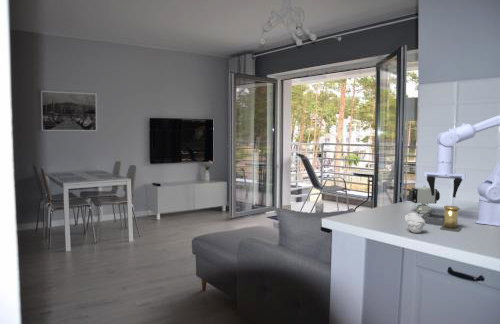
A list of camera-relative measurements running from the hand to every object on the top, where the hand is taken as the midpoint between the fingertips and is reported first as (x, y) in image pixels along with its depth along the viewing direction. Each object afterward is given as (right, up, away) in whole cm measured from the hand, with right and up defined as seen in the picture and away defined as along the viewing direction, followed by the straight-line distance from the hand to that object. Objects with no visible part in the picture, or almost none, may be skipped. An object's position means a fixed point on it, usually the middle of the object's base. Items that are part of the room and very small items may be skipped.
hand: (443, 196), depth 155 cm
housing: (-3, -10, 0) cm, 10 cm away
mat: (-4, -11, -13) cm, 17 cm away
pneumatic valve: (-1, -9, +16) cm, 18 cm away
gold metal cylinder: (-3, -10, -12) cm, 16 cm away
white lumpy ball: (-19, -11, -18) cm, 29 cm away
